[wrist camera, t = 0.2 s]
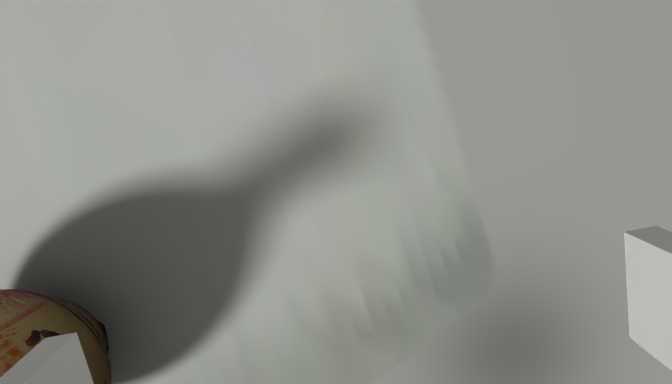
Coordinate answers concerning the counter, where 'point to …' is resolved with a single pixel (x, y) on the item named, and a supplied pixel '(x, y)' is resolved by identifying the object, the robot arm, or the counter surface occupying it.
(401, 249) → the counter surface
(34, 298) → the ceramic jug
